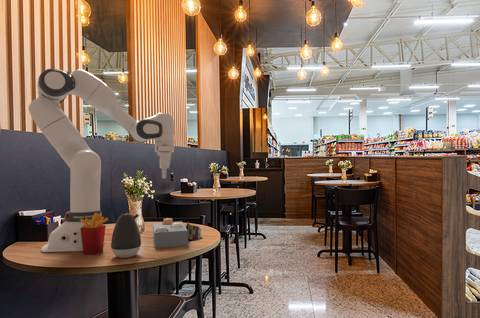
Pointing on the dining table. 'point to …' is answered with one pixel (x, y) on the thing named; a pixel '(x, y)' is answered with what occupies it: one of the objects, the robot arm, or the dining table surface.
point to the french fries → (93, 235)
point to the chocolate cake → (193, 232)
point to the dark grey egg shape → (126, 237)
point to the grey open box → (170, 236)
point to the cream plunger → (176, 225)
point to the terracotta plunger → (168, 221)
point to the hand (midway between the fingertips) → (164, 178)
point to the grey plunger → (161, 229)
